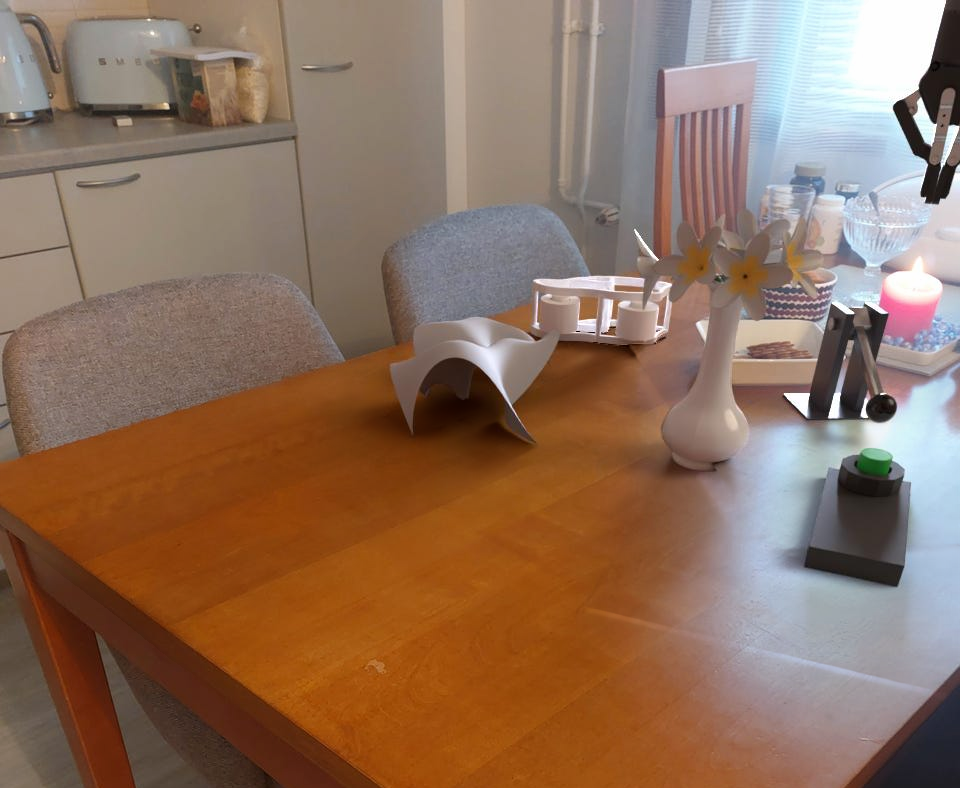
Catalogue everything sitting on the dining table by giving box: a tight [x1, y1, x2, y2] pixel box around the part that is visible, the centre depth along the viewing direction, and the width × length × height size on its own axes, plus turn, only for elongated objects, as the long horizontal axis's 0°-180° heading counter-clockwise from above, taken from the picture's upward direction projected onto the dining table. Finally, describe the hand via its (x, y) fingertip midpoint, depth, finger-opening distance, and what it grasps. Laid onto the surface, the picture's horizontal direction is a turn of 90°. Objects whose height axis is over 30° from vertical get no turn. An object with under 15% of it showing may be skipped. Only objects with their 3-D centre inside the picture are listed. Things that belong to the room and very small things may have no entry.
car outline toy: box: [529, 275, 673, 344], centre depth 133 cm, size 20×11×7 cm, turn 78°
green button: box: [856, 447, 894, 475], centre depth 91 cm, size 3×3×2 cm
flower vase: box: [633, 207, 825, 472], centre depth 94 cm, size 13×18×25 cm
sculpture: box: [389, 316, 560, 446], centre depth 111 cm, size 25×19×10 cm
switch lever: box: [847, 306, 898, 424], centre depth 104 cm, size 15×3×3 cm
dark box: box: [803, 454, 912, 588], centre depth 88 cm, size 19×8×4 cm, turn 157°
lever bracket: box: [782, 302, 890, 421], centre depth 109 cm, size 8×10×13 cm
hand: (931, 202), depth 98 cm, fingers closed
